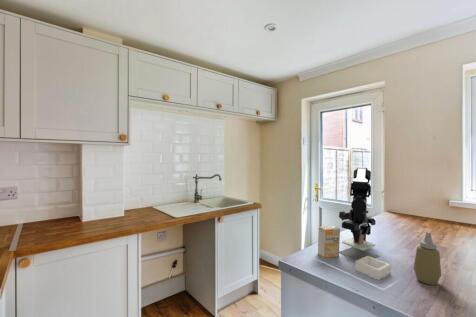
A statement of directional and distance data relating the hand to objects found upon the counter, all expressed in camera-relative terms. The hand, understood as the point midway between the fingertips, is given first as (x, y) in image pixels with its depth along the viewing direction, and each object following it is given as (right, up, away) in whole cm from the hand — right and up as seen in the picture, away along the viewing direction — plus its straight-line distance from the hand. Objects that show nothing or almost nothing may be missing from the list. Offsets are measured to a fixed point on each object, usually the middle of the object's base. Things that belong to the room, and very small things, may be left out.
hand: (358, 241), depth 109 cm
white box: (-2, -7, -16) cm, 17 cm away
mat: (0, -6, 0) cm, 6 cm away
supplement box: (-14, -6, -1) cm, 15 cm away
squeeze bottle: (+15, -7, -21) cm, 27 cm away
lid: (0, -1, 0) cm, 1 cm away
